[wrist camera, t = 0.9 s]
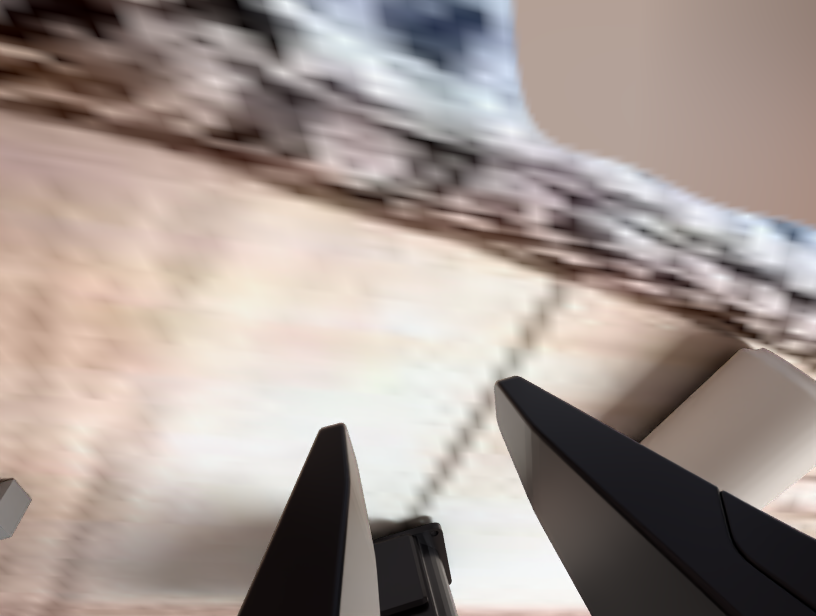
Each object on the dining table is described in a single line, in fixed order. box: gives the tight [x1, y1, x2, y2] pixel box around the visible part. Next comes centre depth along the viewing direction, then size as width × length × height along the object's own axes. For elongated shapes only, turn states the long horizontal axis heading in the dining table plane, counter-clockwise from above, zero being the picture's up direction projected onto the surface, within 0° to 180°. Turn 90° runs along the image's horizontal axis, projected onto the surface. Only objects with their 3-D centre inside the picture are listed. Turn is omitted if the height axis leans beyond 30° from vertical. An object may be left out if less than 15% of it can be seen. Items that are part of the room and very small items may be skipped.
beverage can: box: [640, 348, 816, 510], centre depth 28 cm, size 6×6×12 cm
